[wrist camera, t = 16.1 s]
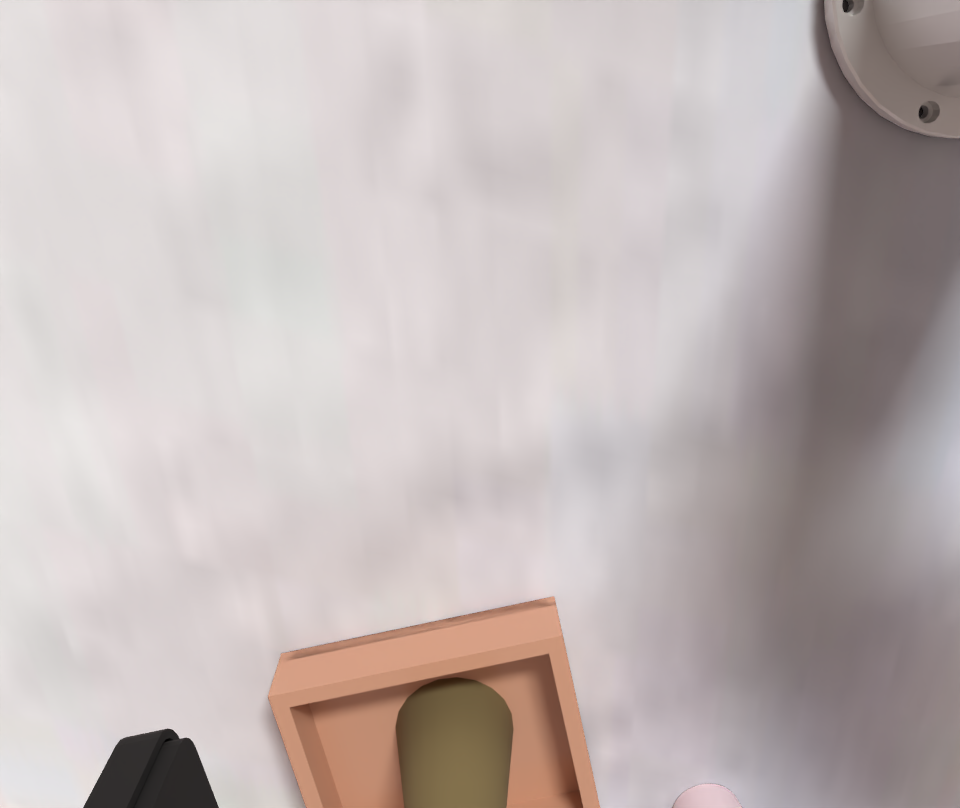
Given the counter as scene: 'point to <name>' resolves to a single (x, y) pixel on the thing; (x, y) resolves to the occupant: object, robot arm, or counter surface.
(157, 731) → the robot arm
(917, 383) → the counter surface
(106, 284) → the counter surface
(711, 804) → the smoothie
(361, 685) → the terracotta tray
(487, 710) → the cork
